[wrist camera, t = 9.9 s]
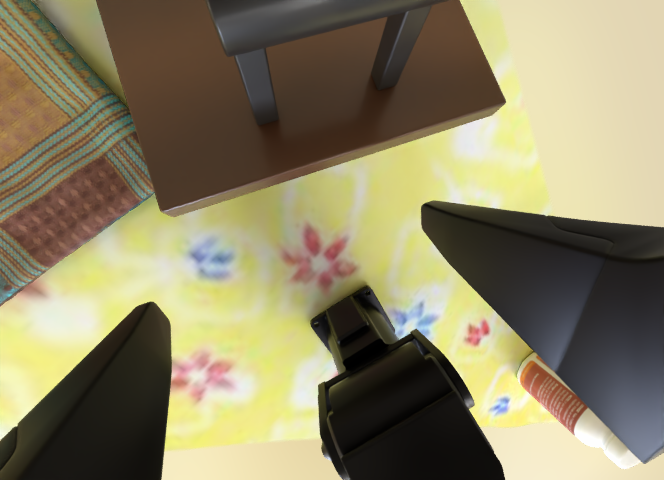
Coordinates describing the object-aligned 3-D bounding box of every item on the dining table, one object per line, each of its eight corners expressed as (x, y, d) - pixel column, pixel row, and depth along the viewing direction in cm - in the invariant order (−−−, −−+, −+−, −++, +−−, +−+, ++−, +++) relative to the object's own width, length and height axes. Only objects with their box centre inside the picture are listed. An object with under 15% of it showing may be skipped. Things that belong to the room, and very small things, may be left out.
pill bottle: (523, 391, 38) (619, 483, 28) (508, 369, 36) (607, 461, 25) (559, 362, 38) (669, 444, 28) (546, 338, 35) (661, 419, 25)
